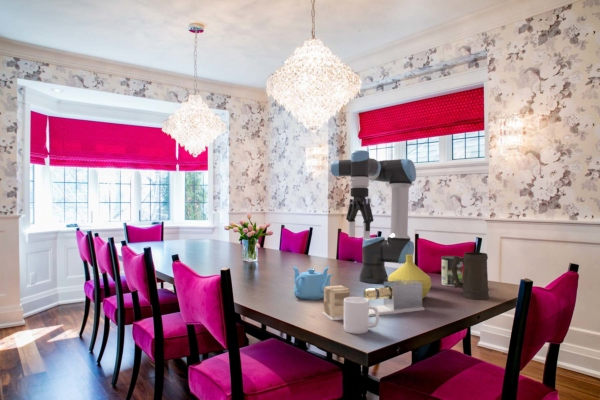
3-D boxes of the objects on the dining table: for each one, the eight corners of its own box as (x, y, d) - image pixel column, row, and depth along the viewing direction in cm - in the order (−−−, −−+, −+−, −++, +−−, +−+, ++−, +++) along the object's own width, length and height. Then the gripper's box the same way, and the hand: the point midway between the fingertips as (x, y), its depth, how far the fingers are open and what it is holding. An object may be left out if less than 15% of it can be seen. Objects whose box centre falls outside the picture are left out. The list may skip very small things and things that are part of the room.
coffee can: (466, 284, 203) (466, 257, 203) (456, 287, 196) (456, 259, 196) (447, 281, 211) (447, 255, 211) (437, 284, 204) (437, 256, 204)
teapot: (328, 291, 188) (328, 265, 188) (333, 301, 170) (333, 272, 170) (292, 291, 188) (292, 265, 188) (293, 301, 169) (293, 272, 169)
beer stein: (489, 295, 181) (486, 251, 181) (492, 300, 171) (488, 254, 171) (453, 294, 186) (450, 252, 186) (454, 300, 176) (450, 254, 176)
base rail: (322, 313, 151) (322, 311, 151) (410, 304, 165) (410, 302, 165) (331, 320, 142) (331, 318, 142) (424, 310, 156) (424, 307, 156)
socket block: (323, 314, 150) (323, 286, 150) (341, 312, 153) (341, 285, 153) (331, 319, 144) (331, 290, 143) (349, 317, 146) (349, 289, 146)
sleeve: (383, 307, 159) (383, 281, 159) (411, 305, 164) (411, 279, 164) (393, 312, 153) (393, 285, 152) (422, 309, 157) (422, 282, 157)
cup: (349, 324, 138) (349, 295, 138) (382, 330, 132) (382, 299, 132) (339, 331, 131) (339, 300, 131) (375, 337, 125) (375, 305, 125)
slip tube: (406, 294, 161) (407, 284, 161) (413, 296, 157) (413, 286, 157) (363, 298, 154) (363, 288, 154) (368, 301, 150) (368, 290, 150)
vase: (408, 306, 162) (408, 259, 162) (379, 296, 178) (379, 253, 178) (440, 300, 171) (440, 256, 171) (410, 291, 187) (410, 251, 187)
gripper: (339, 188, 178) (338, 235, 177) (365, 185, 154) (364, 240, 153) (354, 188, 180) (353, 235, 180) (382, 186, 156) (381, 240, 156)
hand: (358, 238), depth 167 cm, fingers open, 13 cm apart
